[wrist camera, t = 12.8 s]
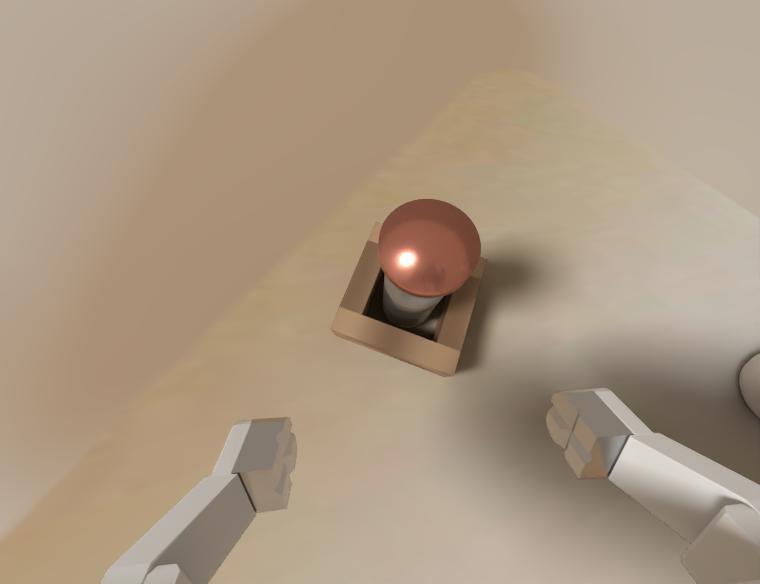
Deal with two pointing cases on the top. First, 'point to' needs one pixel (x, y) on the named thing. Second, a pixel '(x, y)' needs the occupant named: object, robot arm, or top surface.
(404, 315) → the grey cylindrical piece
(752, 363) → the plastic bottle
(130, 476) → the top surface
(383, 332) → the collar
